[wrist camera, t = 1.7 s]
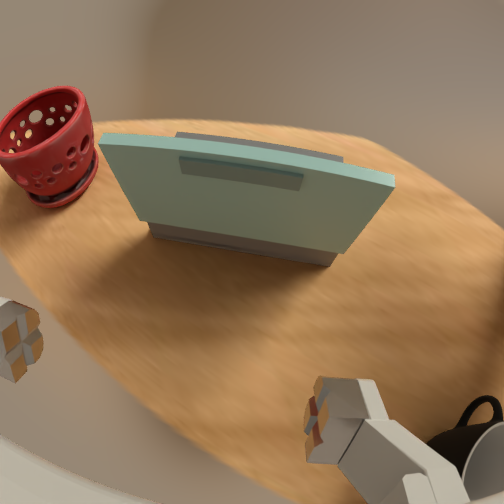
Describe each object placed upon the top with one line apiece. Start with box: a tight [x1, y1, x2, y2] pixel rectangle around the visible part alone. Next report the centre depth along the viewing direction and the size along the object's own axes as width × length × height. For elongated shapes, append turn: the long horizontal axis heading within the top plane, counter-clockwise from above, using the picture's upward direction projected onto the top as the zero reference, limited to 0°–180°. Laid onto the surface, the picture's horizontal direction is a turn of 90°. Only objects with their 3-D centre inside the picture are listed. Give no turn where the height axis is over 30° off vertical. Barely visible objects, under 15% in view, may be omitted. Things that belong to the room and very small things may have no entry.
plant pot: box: [0, 86, 98, 208], centre depth 34 cm, size 13×13×12 cm
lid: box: [98, 133, 395, 254], centre depth 25 cm, size 20×12×1 cm
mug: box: [426, 395, 504, 502], centre depth 22 cm, size 12×9×10 cm
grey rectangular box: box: [147, 132, 343, 267], centre depth 36 cm, size 20×12×5 cm, turn 81°
